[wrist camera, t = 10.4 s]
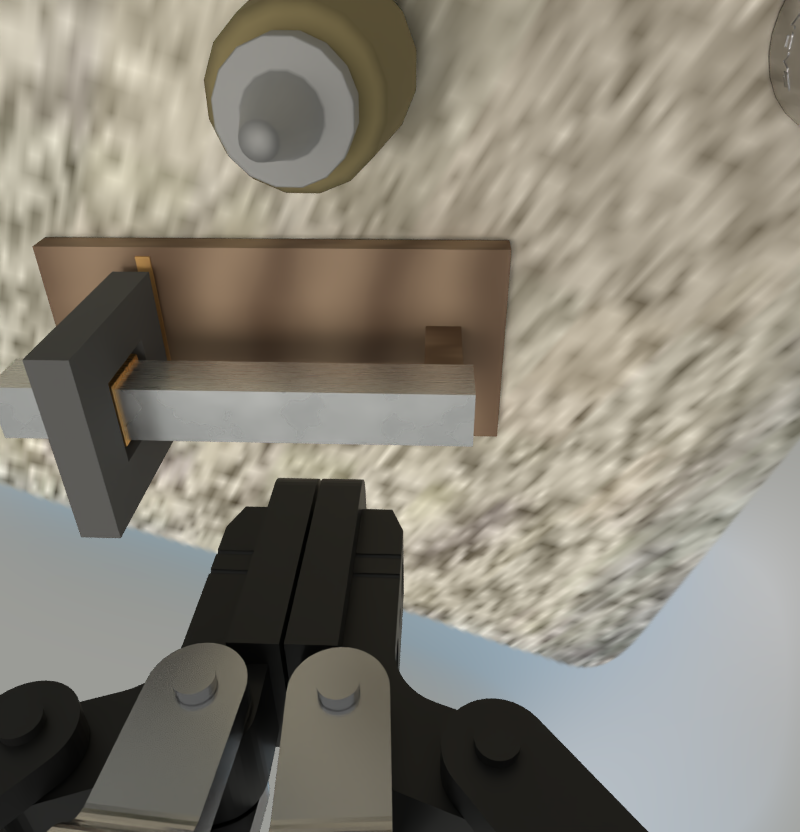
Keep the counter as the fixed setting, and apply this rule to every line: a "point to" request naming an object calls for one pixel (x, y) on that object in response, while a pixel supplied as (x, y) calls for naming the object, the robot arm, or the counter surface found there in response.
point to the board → (309, 299)
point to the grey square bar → (272, 402)
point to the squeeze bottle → (310, 88)
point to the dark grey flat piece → (98, 401)
